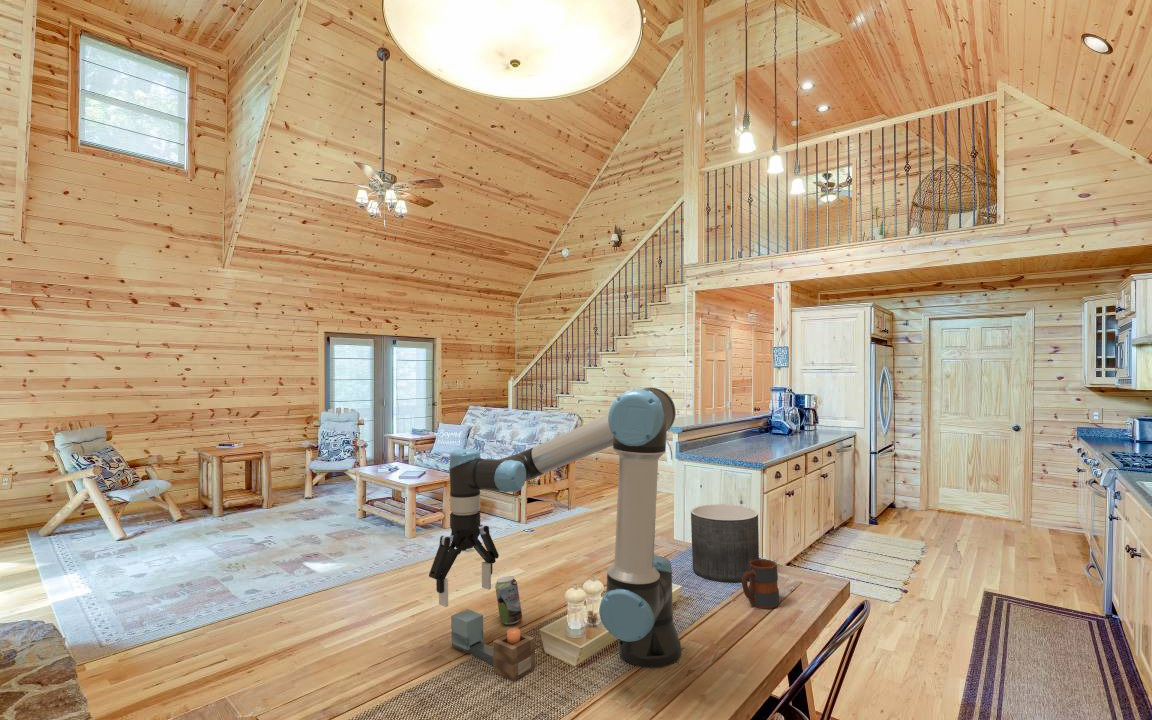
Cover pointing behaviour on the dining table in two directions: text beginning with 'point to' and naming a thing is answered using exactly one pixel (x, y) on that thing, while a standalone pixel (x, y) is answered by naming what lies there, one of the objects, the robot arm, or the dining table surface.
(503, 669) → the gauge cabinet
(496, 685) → the dining table surface
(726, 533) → the planter
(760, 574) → the mug
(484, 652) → the rail
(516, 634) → the orange rounded piece
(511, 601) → the beverage can
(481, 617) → the carriage
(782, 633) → the dining table surface
